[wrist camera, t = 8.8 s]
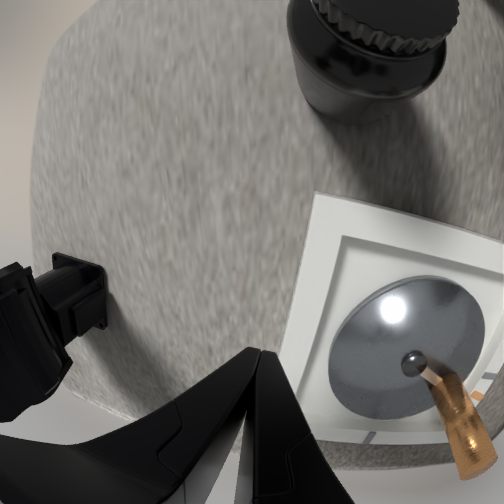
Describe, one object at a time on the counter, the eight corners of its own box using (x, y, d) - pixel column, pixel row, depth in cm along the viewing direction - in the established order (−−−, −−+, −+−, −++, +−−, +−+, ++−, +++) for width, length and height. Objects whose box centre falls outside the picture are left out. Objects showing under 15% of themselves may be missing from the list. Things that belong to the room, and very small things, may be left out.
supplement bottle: (368, 25, 14) (414, -84, 3) (412, 110, 16) (522, 63, 4) (278, 51, 16) (240, -62, 5) (321, 140, 18) (345, 102, 6)
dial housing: (262, 411, 25) (257, 431, 22) (314, 190, 19) (315, 194, 16) (442, 427, 22) (448, 443, 20) (531, 252, 16) (548, 261, 14)
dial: (396, 428, 22) (412, 514, 12) (292, 368, 21) (277, 479, 12) (501, 331, 17) (559, 405, 8) (414, 236, 17) (497, 305, 8)
